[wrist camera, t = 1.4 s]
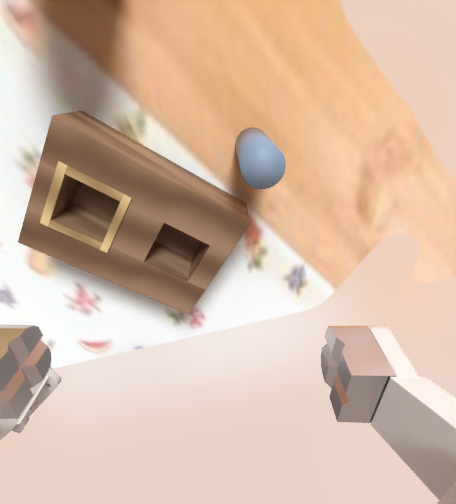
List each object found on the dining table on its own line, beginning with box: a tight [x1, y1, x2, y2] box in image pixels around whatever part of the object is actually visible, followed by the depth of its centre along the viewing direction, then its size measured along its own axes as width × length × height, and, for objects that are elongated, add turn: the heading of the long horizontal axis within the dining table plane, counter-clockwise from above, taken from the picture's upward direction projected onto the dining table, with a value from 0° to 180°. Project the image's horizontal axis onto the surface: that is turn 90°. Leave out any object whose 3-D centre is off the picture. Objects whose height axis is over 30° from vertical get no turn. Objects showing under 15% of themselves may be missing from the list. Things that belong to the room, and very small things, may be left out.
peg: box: [235, 128, 285, 189], centre depth 28 cm, size 4×4×10 cm
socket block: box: [18, 111, 250, 314], centre depth 33 cm, size 14×20×6 cm
